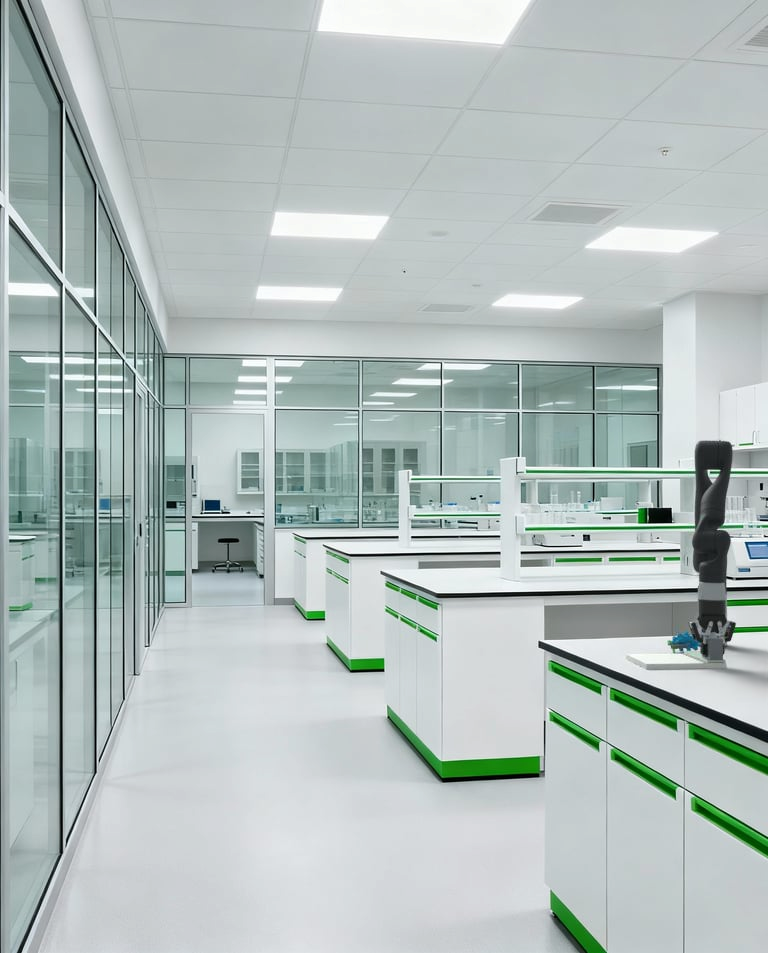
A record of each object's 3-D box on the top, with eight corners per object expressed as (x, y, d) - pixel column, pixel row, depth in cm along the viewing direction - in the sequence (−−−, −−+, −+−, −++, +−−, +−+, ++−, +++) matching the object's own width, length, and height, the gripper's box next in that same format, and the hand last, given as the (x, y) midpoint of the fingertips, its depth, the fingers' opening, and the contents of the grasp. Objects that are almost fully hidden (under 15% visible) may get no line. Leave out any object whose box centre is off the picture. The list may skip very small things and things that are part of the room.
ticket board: (626, 659, 264) (626, 653, 264) (701, 658, 266) (701, 653, 266) (646, 669, 248) (646, 663, 248) (726, 668, 250) (726, 662, 250)
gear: (704, 647, 277) (702, 628, 271) (707, 662, 272) (704, 643, 266) (669, 650, 280) (665, 631, 274) (671, 665, 276) (667, 646, 270)
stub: (683, 652, 266) (683, 631, 266) (700, 652, 266) (700, 631, 266) (707, 662, 250) (707, 639, 250) (725, 662, 250) (725, 639, 250)
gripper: (729, 596, 257) (729, 653, 257) (682, 596, 256) (683, 654, 255) (741, 599, 250) (742, 658, 249) (694, 599, 249) (694, 659, 248)
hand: (712, 656), depth 252 cm, fingers closed on stub, 4 cm apart
